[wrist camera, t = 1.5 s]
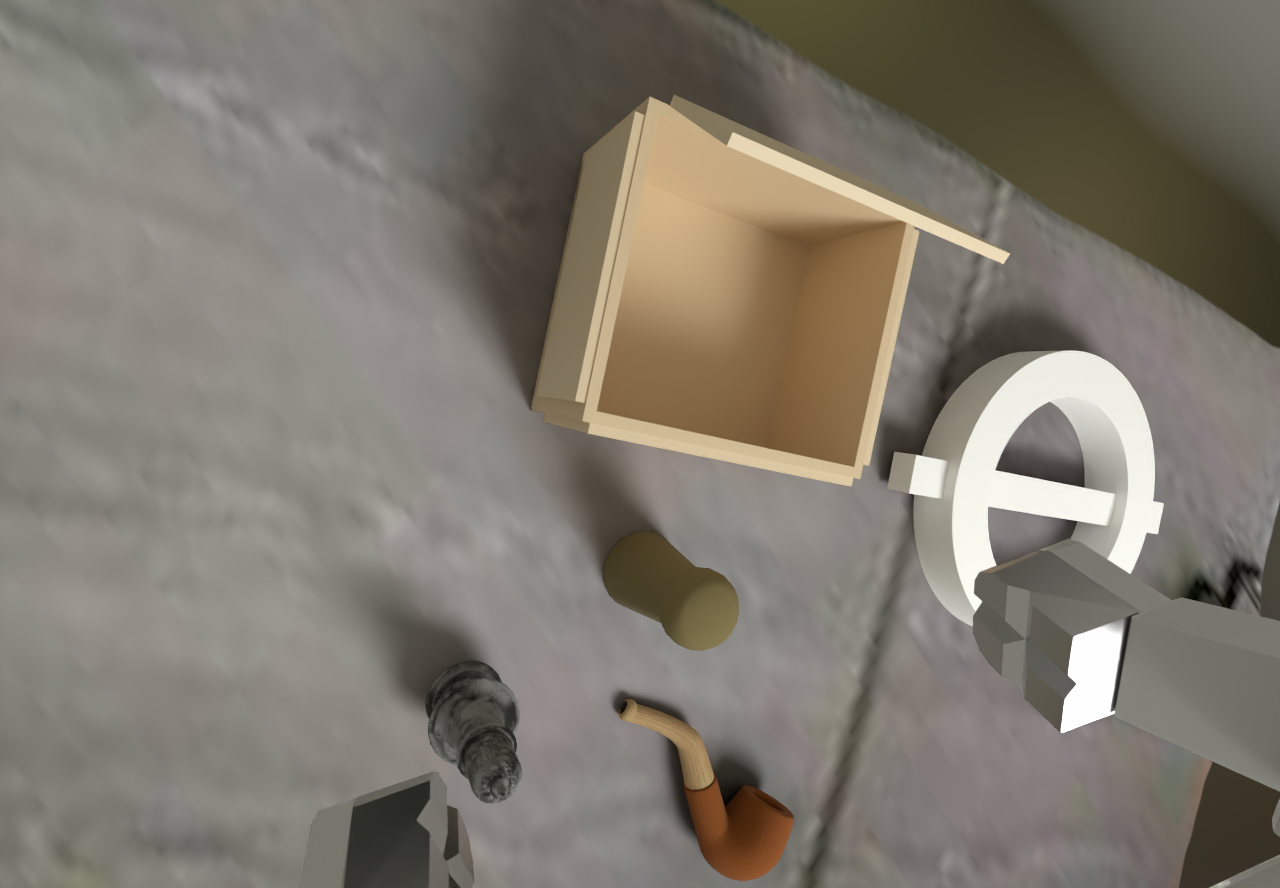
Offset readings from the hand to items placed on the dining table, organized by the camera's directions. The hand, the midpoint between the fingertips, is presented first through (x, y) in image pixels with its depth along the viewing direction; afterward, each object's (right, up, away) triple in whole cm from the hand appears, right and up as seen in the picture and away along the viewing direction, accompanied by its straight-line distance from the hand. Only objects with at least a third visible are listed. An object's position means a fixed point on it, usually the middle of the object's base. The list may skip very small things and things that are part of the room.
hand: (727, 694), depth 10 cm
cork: (-1, -6, +43) cm, 43 cm away
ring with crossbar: (+36, -1, +59) cm, 70 cm away
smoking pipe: (+2, -24, +47) cm, 52 cm away
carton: (+2, +13, +42) cm, 44 cm away
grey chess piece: (-13, -14, +38) cm, 43 cm away
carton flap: (+8, +21, +31) cm, 38 cm away
